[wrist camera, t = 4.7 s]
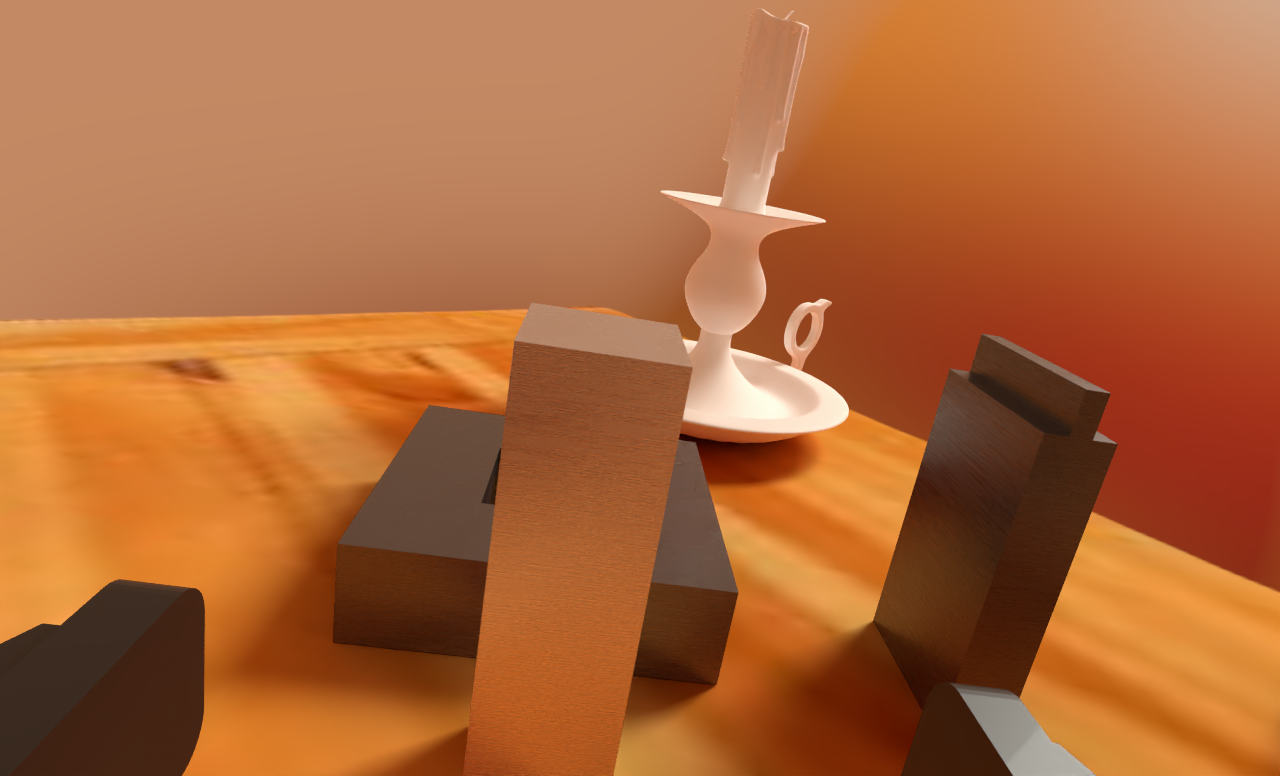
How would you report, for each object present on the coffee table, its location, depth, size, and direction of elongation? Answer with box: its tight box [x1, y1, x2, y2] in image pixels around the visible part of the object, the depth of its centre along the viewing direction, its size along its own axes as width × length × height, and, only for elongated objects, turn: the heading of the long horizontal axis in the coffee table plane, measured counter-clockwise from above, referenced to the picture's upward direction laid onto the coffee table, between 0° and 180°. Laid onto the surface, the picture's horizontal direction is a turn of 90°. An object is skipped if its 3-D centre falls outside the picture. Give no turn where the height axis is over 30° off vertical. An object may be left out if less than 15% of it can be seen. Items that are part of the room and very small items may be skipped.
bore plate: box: [333, 405, 738, 685], centre depth 34 cm, size 14×14×4 cm
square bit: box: [463, 303, 693, 776], centre depth 21 cm, size 4×4×14 cm
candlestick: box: [660, 8, 849, 443], centre depth 54 cm, size 21×25×28 cm
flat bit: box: [873, 334, 1118, 710], centre depth 29 cm, size 7×2×14 cm, turn 2°
